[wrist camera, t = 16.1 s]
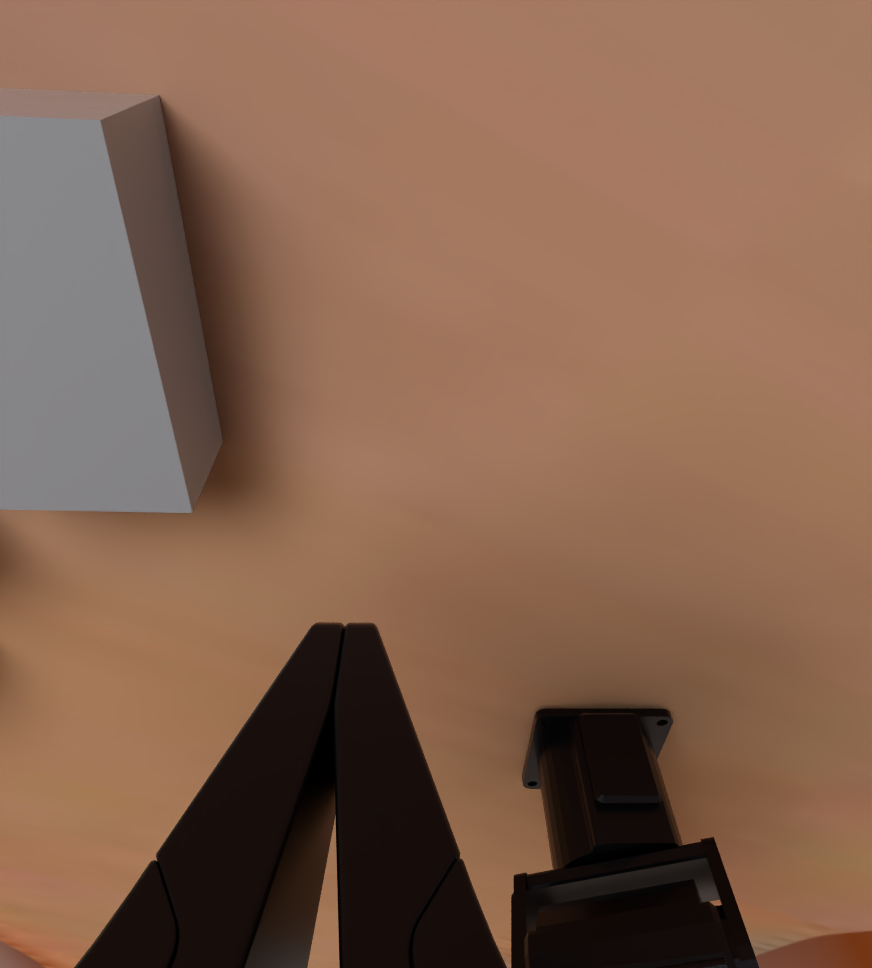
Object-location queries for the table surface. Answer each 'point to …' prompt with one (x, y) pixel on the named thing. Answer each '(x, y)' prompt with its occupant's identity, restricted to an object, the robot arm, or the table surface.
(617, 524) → the table surface
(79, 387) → the slab
